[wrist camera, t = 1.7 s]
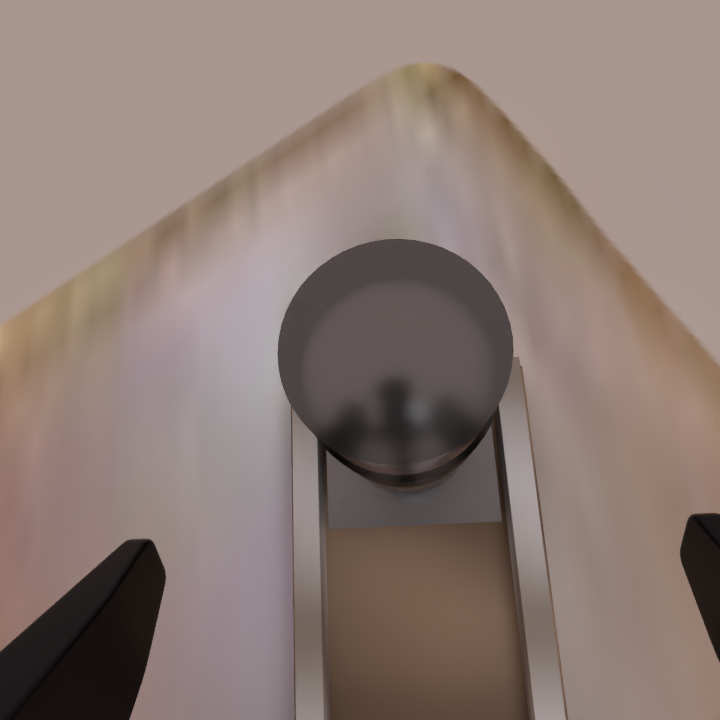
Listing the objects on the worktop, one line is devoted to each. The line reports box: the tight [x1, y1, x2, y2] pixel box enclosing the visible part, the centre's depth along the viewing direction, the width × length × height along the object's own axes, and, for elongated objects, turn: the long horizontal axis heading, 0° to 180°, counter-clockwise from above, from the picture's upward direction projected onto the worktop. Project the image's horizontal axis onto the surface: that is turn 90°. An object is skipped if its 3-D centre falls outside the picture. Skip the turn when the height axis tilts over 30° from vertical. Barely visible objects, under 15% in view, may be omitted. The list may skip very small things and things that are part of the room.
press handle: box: [278, 239, 513, 529], centre depth 13 cm, size 5×5×11 cm
